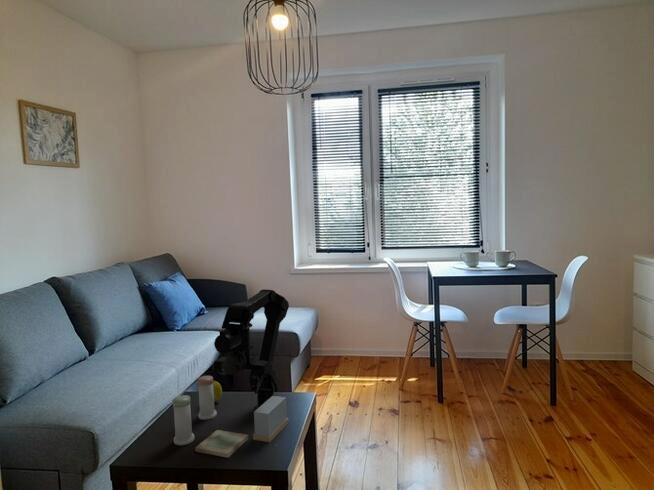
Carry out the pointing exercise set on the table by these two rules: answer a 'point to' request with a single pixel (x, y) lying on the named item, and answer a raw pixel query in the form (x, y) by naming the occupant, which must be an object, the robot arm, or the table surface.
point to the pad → (222, 443)
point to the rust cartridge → (206, 398)
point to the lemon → (217, 390)
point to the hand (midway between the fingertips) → (243, 391)
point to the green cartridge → (182, 420)
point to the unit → (270, 419)
